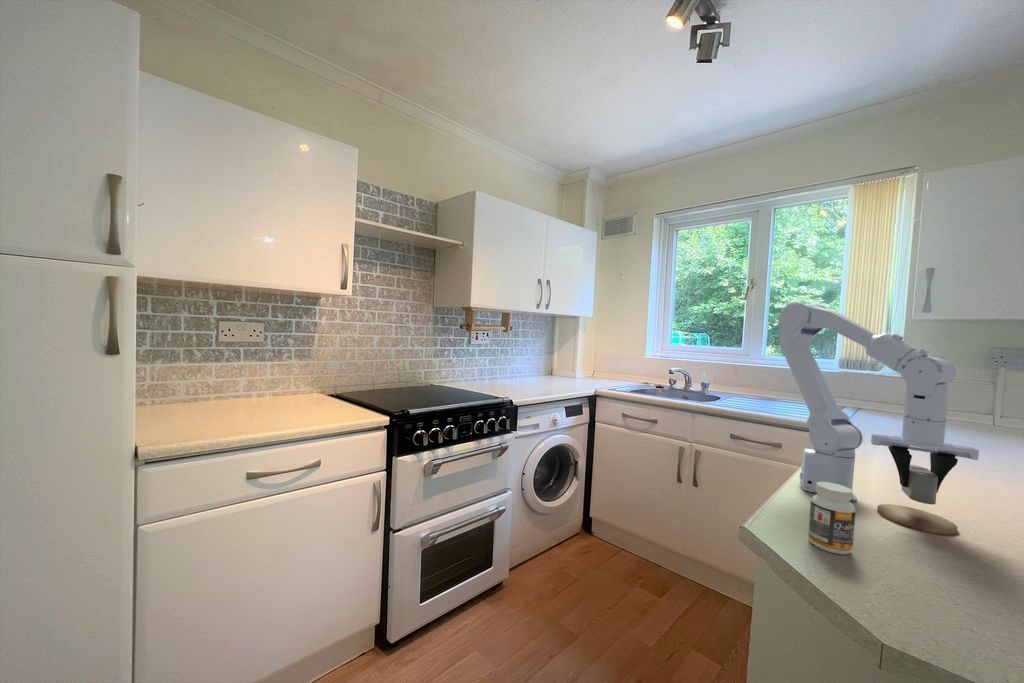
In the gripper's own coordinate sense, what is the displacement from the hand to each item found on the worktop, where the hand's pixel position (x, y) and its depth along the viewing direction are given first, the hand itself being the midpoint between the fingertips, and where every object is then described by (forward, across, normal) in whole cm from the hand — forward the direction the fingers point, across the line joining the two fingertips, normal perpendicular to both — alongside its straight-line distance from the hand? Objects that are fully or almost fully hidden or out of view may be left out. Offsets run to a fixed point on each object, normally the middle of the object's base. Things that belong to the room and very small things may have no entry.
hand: (918, 488), depth 78 cm
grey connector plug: (+2, 0, +1) cm, 2 cm away
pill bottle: (+7, -16, -24) cm, 30 cm away
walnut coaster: (+6, 0, 0) cm, 6 cm away
